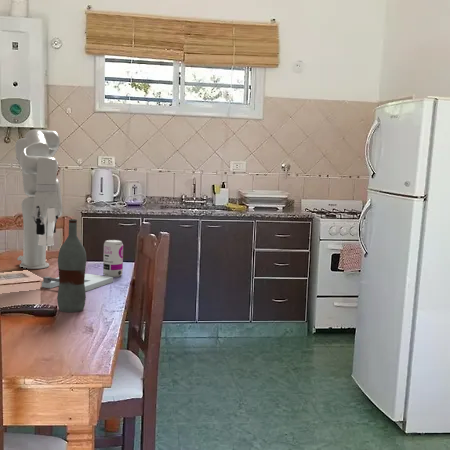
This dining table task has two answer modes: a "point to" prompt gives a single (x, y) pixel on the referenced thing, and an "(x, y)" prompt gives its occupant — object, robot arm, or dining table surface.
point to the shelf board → (89, 281)
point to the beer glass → (48, 228)
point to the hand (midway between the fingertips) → (46, 233)
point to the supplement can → (113, 258)
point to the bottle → (71, 272)
